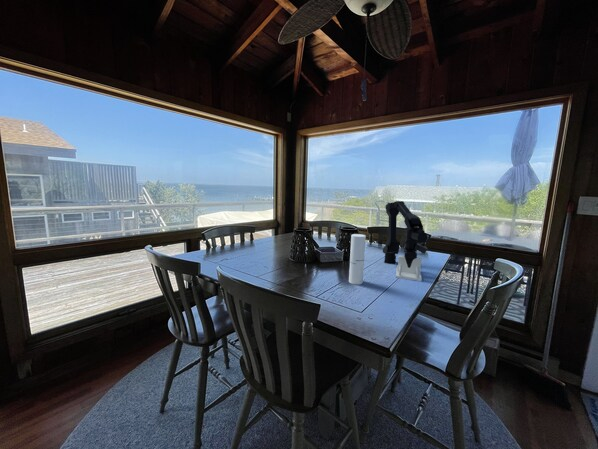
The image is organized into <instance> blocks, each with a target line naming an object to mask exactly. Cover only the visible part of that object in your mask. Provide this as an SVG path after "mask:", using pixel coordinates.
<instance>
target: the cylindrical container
mask: <svg viewBox="0 0 598 449" xmlns="http://www.w3.org/2000/svg"><path fill="white" fill-rule="evenodd" d="M350 237H351V238H350V256H349V271H348V283H350V284H352V285H362V284H363V282H364V271H365V269H364V267H365V256H366V255H365V252H366V240H367V239H366V238H367V235H366V234H362V233H361V234H360V233H353V234H351V236H350Z"/></svg>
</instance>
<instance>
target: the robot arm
mask: <svg viewBox="0 0 598 449" xmlns="http://www.w3.org/2000/svg"><path fill="white" fill-rule="evenodd" d="M385 213H386V214H387V216H388V237H387V240H386V241H385V245H384V247H383V248H382V253H383V254H384V261H383V262H384V263H385V264H390V265H391V264H392V265H393V264H395V263H396V262H397V261H396V260H397V255H398V254H399V252H400V241H399V240H398V238H397V222H398V221H397V217H398V215H399V214H401V216H402V217H403V218H404V222H403V223H404V224H405V226H406V227H405V228H404V230H405V231H406V234H405V243H404V244H405V245H404V246H403V252H404V253H403V254H404V255H403V256H404V257H405V260H406V263H407V266H408V268H410V267H411V264H412V261H413V260H414V259H416V258H418V252H419V253H420V252H421V254H426V252H427V250H428V247H427V246H426V245H425V243H426V242H427V241H428V235H427V233H426V232H425V229H424V224H423V223H422V220H421V218H420V217H419V216H418V215H416V214H413V212H411V211H410V209H409V208H408V206H407V205H406V204H405V202H404V201H403V200H402V201H401V200H396V201H394V202H388V203H387V204H385ZM417 251H418V252H417Z"/></svg>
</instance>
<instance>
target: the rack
mask: <svg viewBox="0 0 598 449" xmlns="http://www.w3.org/2000/svg"><path fill="white" fill-rule="evenodd" d="M401 267H402V265H399V272H398V271H397V270H398V265H397V266H396V269H395V271H396V272H395V278H396V279H404V280H410V281H418V282H423V279H422V274H421V270H419V267H417V268H416V274H413V273H406V272H401V270H402V268H401ZM419 271H420V274H419Z"/></svg>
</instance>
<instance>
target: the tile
mask: <svg viewBox="0 0 598 449" xmlns="http://www.w3.org/2000/svg"><path fill="white" fill-rule="evenodd" d="M397 258H398V259H397V260H398V261H397V266H398V270H397V271H398V272H399V265H402V267H401V268H402V270H401V272H406V273H413V274H416V268H417V267H419V270H420V271H419V274H420V273H421V271H422V270H421V269H422V257H417V258H416V259H414V260H413V261H412V264H411V267H410V268H408V266H407V263H406V260H405V257H404V255H398V257H397Z"/></svg>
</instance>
